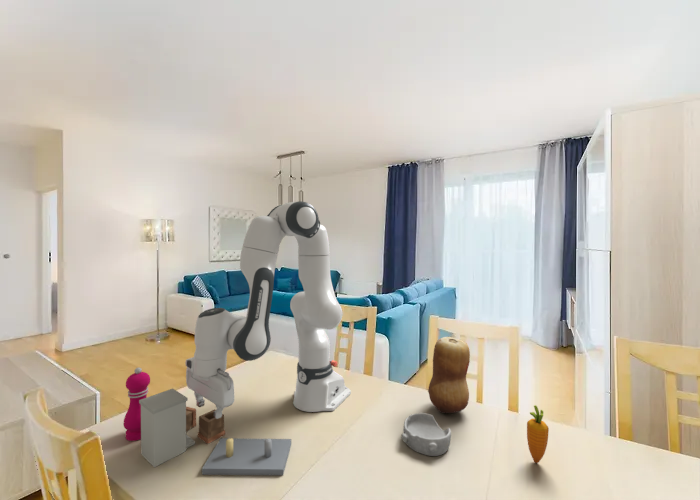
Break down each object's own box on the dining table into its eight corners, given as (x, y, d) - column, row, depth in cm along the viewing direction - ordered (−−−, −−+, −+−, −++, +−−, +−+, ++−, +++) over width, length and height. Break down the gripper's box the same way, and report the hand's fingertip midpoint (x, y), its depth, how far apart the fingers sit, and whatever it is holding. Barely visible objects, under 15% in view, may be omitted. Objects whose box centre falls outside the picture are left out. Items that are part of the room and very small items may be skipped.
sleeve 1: (181, 422, 101) (181, 405, 101) (196, 425, 100) (196, 408, 100) (165, 433, 96) (165, 415, 95) (180, 436, 94) (180, 419, 94)
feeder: (182, 434, 95) (182, 385, 95) (197, 445, 90) (197, 394, 90) (139, 454, 86) (139, 400, 86) (153, 468, 81) (153, 411, 81)
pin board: (220, 443, 91) (220, 424, 91) (291, 444, 92) (291, 425, 92) (202, 474, 79) (202, 452, 79) (283, 475, 80) (283, 453, 80)
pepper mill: (138, 444, 90) (138, 374, 90) (117, 440, 92) (116, 371, 91) (158, 429, 98) (158, 364, 97) (138, 425, 99) (138, 361, 98)
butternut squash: (468, 425, 103) (471, 348, 102) (425, 416, 107) (427, 342, 106) (468, 404, 116) (470, 335, 115) (430, 397, 120) (432, 331, 119)
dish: (419, 422, 104) (419, 407, 104) (459, 442, 94) (460, 426, 94) (391, 441, 94) (391, 425, 94) (433, 466, 84) (434, 448, 84)
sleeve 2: (215, 427, 99) (215, 408, 99) (225, 434, 96) (225, 414, 95) (197, 436, 94) (197, 416, 94) (207, 444, 91) (207, 423, 91)
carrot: (546, 472, 83) (549, 415, 82) (524, 464, 85) (527, 409, 85) (547, 461, 87) (549, 406, 86) (526, 454, 89) (528, 401, 89)
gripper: (241, 371, 90) (239, 419, 91) (202, 353, 102) (201, 396, 103) (220, 378, 85) (218, 429, 85) (182, 358, 97) (181, 404, 98)
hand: (208, 411), depth 94 cm, fingers open, 8 cm apart
